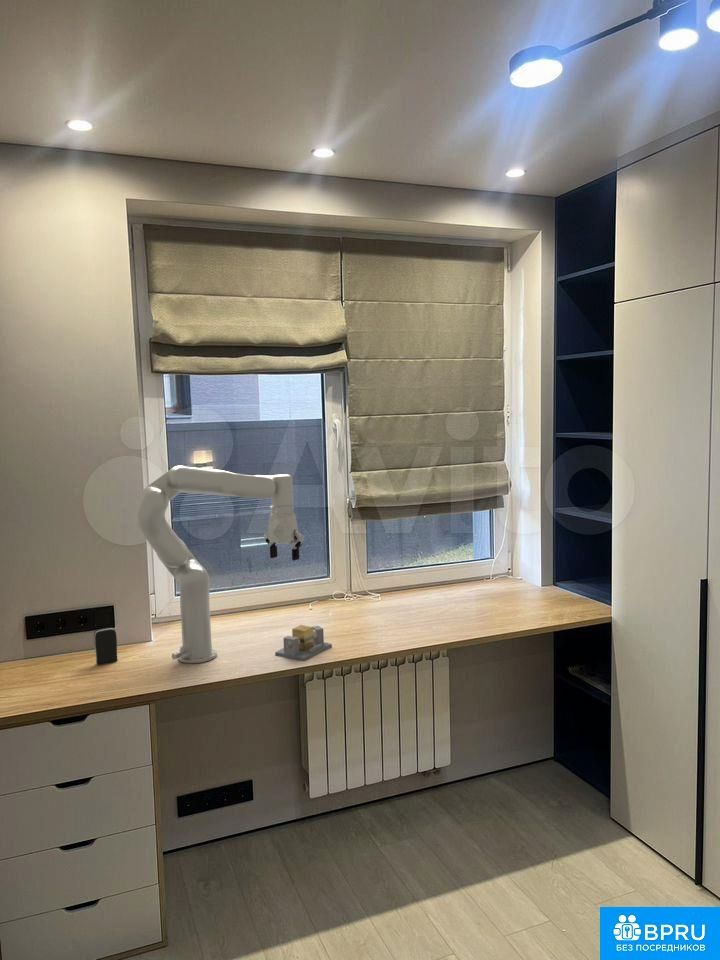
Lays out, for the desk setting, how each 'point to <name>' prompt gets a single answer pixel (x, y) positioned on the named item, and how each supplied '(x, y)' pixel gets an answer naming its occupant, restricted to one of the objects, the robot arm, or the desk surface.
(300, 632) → the yellow rectangular block
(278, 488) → the robot arm
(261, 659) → the desk surface
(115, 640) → the battery charger
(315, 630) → the grey mounting bracket
